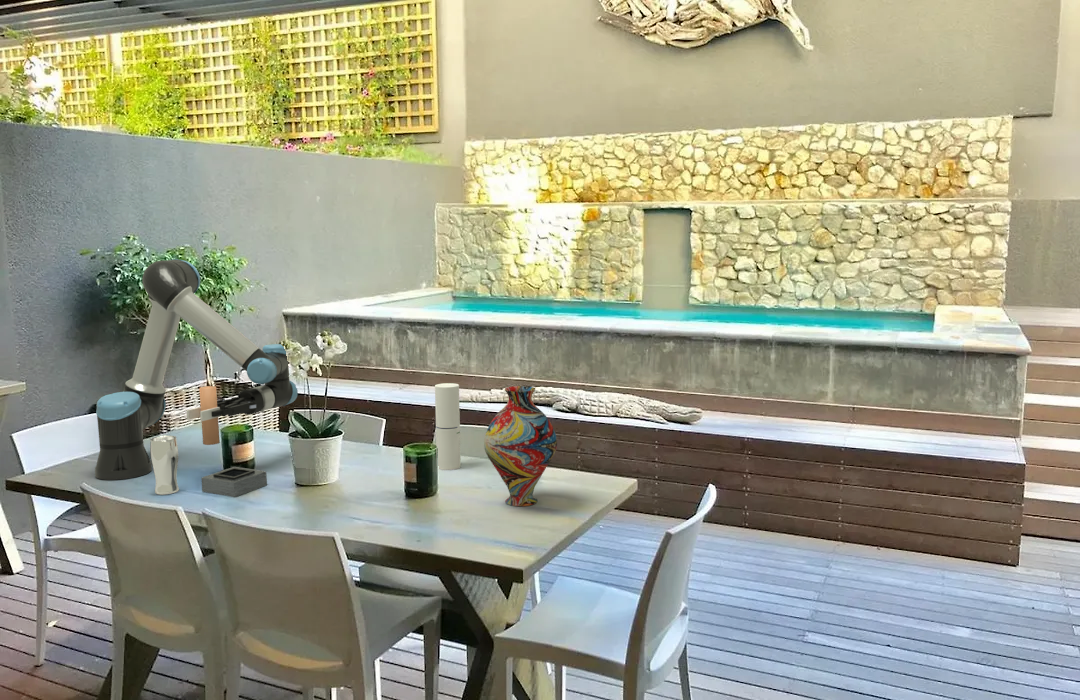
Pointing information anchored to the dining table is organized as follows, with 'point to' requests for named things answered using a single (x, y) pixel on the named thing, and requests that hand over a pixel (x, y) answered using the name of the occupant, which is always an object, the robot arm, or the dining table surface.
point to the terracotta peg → (209, 426)
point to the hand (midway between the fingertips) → (194, 415)
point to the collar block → (234, 481)
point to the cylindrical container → (448, 426)
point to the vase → (520, 444)
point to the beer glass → (165, 463)
